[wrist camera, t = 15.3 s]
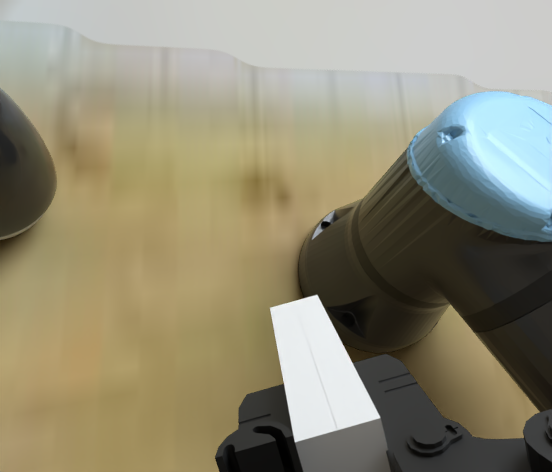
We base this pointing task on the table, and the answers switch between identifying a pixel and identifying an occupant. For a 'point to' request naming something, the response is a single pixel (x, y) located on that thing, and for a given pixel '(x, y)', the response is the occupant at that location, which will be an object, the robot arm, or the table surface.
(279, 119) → the table surface
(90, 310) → the table surface
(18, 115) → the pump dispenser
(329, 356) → the robot arm
